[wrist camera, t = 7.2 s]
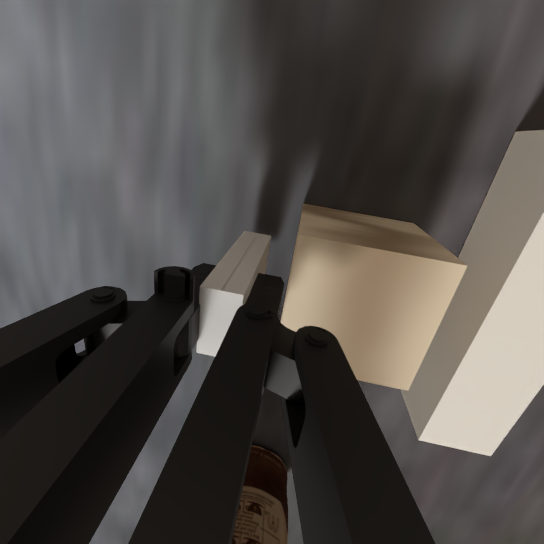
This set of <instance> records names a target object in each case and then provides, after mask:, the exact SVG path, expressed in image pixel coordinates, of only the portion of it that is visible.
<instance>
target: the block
mask: <svg viewBox="0 0 544 544" xmlns="http://www.w3.org/2000/svg"><path fill="white" fill-rule="evenodd" d="M466 268H467V265H466V264H465V263H464V262H462V261H461V260H460V259H459V258H457V257H456V256H455V255H453V254H452V253H451V252H450V251H448V250H447V249H446V248H445V247H443V246H442V245H441V244H439V243H438V242H437V241H436V240H434V239H433V238H432V237H431V236H429V235H428V234H427V233H426V232H424V231H423V230H422V229H420V228H419V227H418V226H417V225H415V224H414V223H410V222H404V221H398V220H393V219H387V218H382V217H376V216H371V215H365V214H359V213H354V212H348V211H343V210H337V209H332V208H326V207H320V206H315V205H309V204H304V203H303V208H302V213H301V218H300V223H299V229H298V234H297V239H296V244H295V249H294V254H293V259H292V264H291V269H290V274H289V280H288V285H287V290H286V295H285V300H284V305H283V311H282V316H281V321H280V322H281V323H282V324H283V325H284V326H285V327H287V328H289V329H290V330H292V331H295V332H297V330H298V329H299V328H302V327H304V326H316V327H321V328H323V329H326V330H328V331H329V332H331V333H332V334H333V335H334V336H335V337H336V338H337V340H338V341H339V343H340V346H341V348H342V350H343V352H344V354H345V356H346V358H347V360H348V362H349V364H350V366H351V369H352V371H353V373H354V375H355V377H356V379H357V380H360V381H365V382H369V383H374V384H379V385H383V386H388V387H393V388H398V389H402V390H407V391H408V390H409V388H410V386H411V384H412V382H413V380H414V378H415V375H416V373H417V371H418V369H419V367H420V365H421V363H422V361H423V359H424V357H425V354H426V352H427V350H428V348H429V346H430V344H431V342H432V340H433V338H434V336H435V333H436V331H437V329H438V327H439V325H440V323H441V321H442V319H443V317H444V314H445V312H446V310H447V308H448V306H449V304H450V302H451V300H452V298H453V296H454V293H455V291H456V289H457V287H458V285H459V283H460V281H461V279H462V277H463V275H464V272H465V270H466Z"/></svg>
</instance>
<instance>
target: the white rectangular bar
mask: <svg viewBox="0 0 544 544" xmlns="http://www.w3.org/2000/svg"><path fill="white" fill-rule="evenodd" d="M458 258H459V259H460V260H461V261H462V262H464V263H465V264H466V265H467V268H466V270H465V272H464V275H463V277H462V279H461V281H460V283H459V285H458V287H457V289H456V291H455V293H454V296H453V298H452V300H451V302H450V304H449V306H448V308H447V310H446V312H445V314H444V317H443V319H442V321H441V323H440V325H439V327H438V329H437V331H436V333H435V336H434V338H433V340H432V342H431V344H430V346H429V348H428V350H427V352H426V354H425V357H424V359H423V361H422V363H421V365H420V367H419V369H418V371H417V373H416V375H415V378H414V380H413V382H412V384H411V386H410V388H409V390H408V391H407V390H402V389H400V390H401V392H402V395H403V398H404V401H405V404H406V406H407V409H408V412H409V415H410V418H411V421H412V423H413V426H414V429H415V432H416V435H417V438H418V440H420V441H425V442H429V443H434V444H438V445H443V446H447V447H452V448H456V449H461V450H465V451H470V452H474V453H479V454H483V455H488V456H491V455H492V454H493V453H494V451H495V450H496V448H497V447H498V446H499V444H500V443H501V442H502V440H503V439H504V438H505V436H506V435H507V433H508V432H509V431H510V429H511V428H512V427H513V425H514V424H515V423H516V421H517V420H518V419H519V417H520V416H521V414H522V413H523V412H524V410H525V409H526V408H527V406H528V405H529V404H530V402H531V401H532V399H533V398H534V397H535V395H536V394H537V393H538V391H539V390H540V389H541V387H542V386H543V384H544V130H533V131H518V132H515V134H514V136H513V138H512V140H511V142H510V145H509V147H508V149H507V151H506V153H505V156H504V158H503V160H502V162H501V164H500V167H499V169H498V171H497V173H496V175H495V178H494V180H493V182H492V184H491V186H490V189H489V191H488V193H487V195H486V197H485V200H484V202H483V204H482V206H481V208H480V210H479V213H478V215H477V217H476V219H475V221H474V224H473V226H472V228H471V230H470V232H469V235H468V237H467V239H466V241H465V243H464V246H463V248H462V250H461V252H460V254H459V257H458Z"/></svg>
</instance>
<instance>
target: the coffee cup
mask: <svg viewBox="0 0 544 544" xmlns="http://www.w3.org/2000/svg"><path fill="white" fill-rule="evenodd" d="M287 536H288V504H287V468H286V466H285V464H284V463H283V461H282V460H281V458H280V457H278V456H277V455H276V454H274V453H273V452H271V451H269V450H266V449H264V448H262V447H259V446H254V445H252V446H251V451H250V456H249V461H248V465H247V470H246V475H245V480H244V485H243V489H242V494H241V499H240V504H239V509H238V513H237V518H236V523H235V528H234V533H233V538H232V542H231V544H287Z"/></svg>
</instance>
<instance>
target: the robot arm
mask: <svg viewBox="0 0 544 544" xmlns="http://www.w3.org/2000/svg"><path fill="white" fill-rule="evenodd" d="M270 240H271V236H270V235H265V234H259V233H254V232H248V231H244V232H243V233H242V234H241V236H240V237H239V238H238V239H237V241H236V242H235V243H234V244H233V246H232V247H231V248H230V249H229V251H228V252H227V253H226V254H225V256H224V257H223V258H222V259H221V261H220V262H219V263H218V264H217V266H215V265H210V264H205V263H203V264H200V265H198V266H196V267H194V268H193V269H192V270H190V269H187V268H184V267H176V266H171V267H163V268H159V269H157V270H155V271H154V290H155V294H154V295H153V296H151V297H150V298H149V299H148V300H147V301H127V295H126V292H125V291H124V290H122V289H121V288H117V287H112V286H109V287H108V286H102V287H98V288H93V289H90V290H87V291H85V292H83V293H80V294H78V295H76V296H74V297H71V298H69V299H67V300H64V301H62V302H60V303H58V304H55V305H53V306H51V307H49V308H46V309H44V310H42V311H39V312H37V313H35V314H33V315H30V316H28V317H26V318H23V319H21V320H19V321H17V322H14V323H12V324H10V325H8V326H5V327H3V328H1V329H0V544H89V542H90V541H91V539H92V537H93V535H94V533H95V532H96V530H97V528H98V526H99V525H100V523H101V521H102V519H103V517H104V516H105V514H106V512H107V510H108V509H109V507H110V505H111V503H112V501H113V500H114V498H115V496H116V494H117V493H118V491H119V489H120V487H121V485H122V484H123V482H124V480H125V478H126V477H127V475H128V473H129V471H130V469H131V468H132V466H133V464H134V462H135V461H136V459H137V457H138V455H139V453H140V452H141V450H142V448H143V446H144V445H145V443H146V441H147V439H148V437H149V436H150V434H151V432H152V430H153V429H154V427H155V425H156V423H157V421H158V420H159V418H160V416H161V414H162V413H163V411H164V409H165V407H166V405H167V404H168V402H169V400H170V398H171V397H172V395H173V393H174V391H175V389H176V388H177V386H178V384H179V382H180V381H181V379H182V377H183V375H184V373H185V372H186V370H187V368H188V366H189V365H190V363H191V359H192V349H193V347H194V345H195V344H196V342H197V353H201V354H206V355H210V356H215V358H214V360H213V363H212V365H211V367H210V369H209V371H208V373H207V376H206V378H205V380H204V382H203V384H202V386H201V388H200V391H199V393H198V395H197V397H196V399H195V401H194V403H193V406H192V408H191V410H190V412H189V414H188V416H187V419H186V421H185V423H184V425H183V427H182V429H181V431H180V434H179V436H178V438H177V440H176V442H175V444H174V447H173V449H172V451H171V453H170V455H169V457H168V459H167V462H166V464H165V466H164V468H163V470H162V472H161V474H160V477H159V479H158V481H157V483H156V485H155V487H154V490H153V492H152V494H151V496H150V498H149V500H148V502H147V505H146V507H145V509H144V511H143V513H142V515H141V518H140V520H139V522H138V524H137V526H136V528H135V530H134V533H133V535H132V537H131V539H130V541H129V543H128V544H231V542H232V538H233V533H234V528H235V523H236V518H237V513H238V509H239V504H240V499H241V494H242V489H243V485H244V480H245V475H246V470H247V465H248V461H249V456H250V451H251V446H252V441H253V436H254V432H255V427H256V422H257V417H258V412H259V408H260V403H261V398H262V395H263V389H264V387H265V388H267V389H268V390H270V391H272V392H274V393H276V394H278V395H280V396H282V397H281V404H282V410H283V416H284V423H285V429H286V435H287V441H288V448H289V454H290V460H291V466H292V473H293V479H294V485H295V492H296V498H297V504H298V510H299V517H300V523H301V529H302V535H303V542H304V544H435V542H434V540H433V538H432V536H431V534H430V532H429V530H428V528H427V525H426V523H425V521H424V519H423V517H422V515H421V513H420V511H419V509H418V507H417V504H416V502H415V500H414V498H413V496H412V494H411V492H410V490H409V488H408V486H407V484H406V481H405V479H404V477H403V475H402V473H401V471H400V469H399V467H398V465H397V463H396V461H395V458H394V456H393V454H392V452H391V450H390V448H389V446H388V444H387V442H386V440H385V438H384V435H383V433H382V431H381V429H380V427H379V425H378V423H377V421H376V419H375V417H374V415H373V412H372V410H371V408H370V406H369V404H368V402H367V400H366V398H365V396H364V394H363V392H362V389H361V387H360V385H359V383H358V381H357V379H356V377H355V375H354V373H353V371H352V369H351V366H350V364H349V362H348V360H347V358H346V356H345V354H344V352H343V350H342V348H341V346H340V343H339V341H338V340H337V338H336V337H335V336H334V335H333V334H332V333H331V332H329V331H328V330H326V329H323V328H321V327H316V326H304V327H302V328H299V329H298V330H297V332H295V331H292V330H290V329H289V328H287V327H285V326H284V325H283V324H282V323H281V322H280V321H279V319H278V314H279V309H280V303H281V298H282V293H283V287H284V282H283V280H282V279H281V277H277V276H272V275H267V274H265V273H266V266H267V260H268V253H269V247H270ZM82 339H84V343H85V349H86V350H84V351H82V352H80V353H76V352H75V346H74V344H75V343H77V342H78V341H80V340H82Z"/></svg>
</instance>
